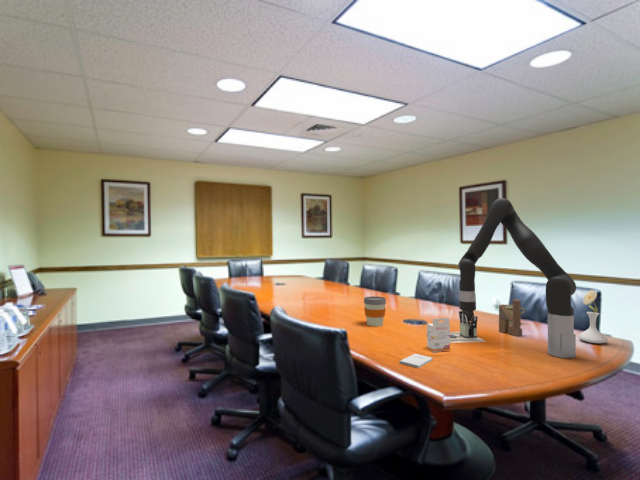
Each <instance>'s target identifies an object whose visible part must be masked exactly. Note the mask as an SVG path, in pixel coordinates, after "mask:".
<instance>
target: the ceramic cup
mask: <svg viewBox="0 0 640 480" xmlns="http://www.w3.org/2000/svg"><path fill="white" fill-rule="evenodd" d="M503 305H504V306H505V307H506V308H507V310H508V311H509V312H510V314H511V315H512V316H513V304H503ZM521 309H522V312H521V315H522V314H524V312H525V308H523V307H521ZM512 322H513V321H510V320H509V326H512Z"/></svg>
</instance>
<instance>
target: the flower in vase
mask: <svg viewBox="0 0 640 480" xmlns="http://www.w3.org/2000/svg"><path fill="white" fill-rule="evenodd" d="M597 295H598V293H597V291H596V290H595V289H594V290H589V291H588V292H586V293H585V295H584V296H583V298H582V300H583V301H582V304H584V305H585V306H587V305H588V308H589V309H591V310H592V311H586V315H587V316H588V318H589V327H588V328H587V329H586V330H584V331H582V332H580V333H579V334H578V338H579V340H581V341H583V342H587V343H592V344H606V343H608V341H609V340H608V338H607V336H605V334H603V333H602V332H601V331H599V330H598V328H597V318H598V316H599V315H600V313H599V309H598V307H597V306H596V303H595V300H596V299H597ZM592 303H593V304H594V307H593V306H592Z"/></svg>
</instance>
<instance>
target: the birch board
mask: <svg viewBox="0 0 640 480" xmlns="http://www.w3.org/2000/svg"><path fill="white" fill-rule="evenodd" d="M425 334H426V335H427V332H425ZM450 334H453V335H455V336H457V338H450V344H454V343H456V344H457V343H484V342H487V341H486V340H485V339H483V338H482V337H481V338H480V337H479V336H477V338H464V337H462V336H460V331H450Z"/></svg>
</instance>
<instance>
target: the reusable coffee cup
mask: <svg viewBox="0 0 640 480" xmlns="http://www.w3.org/2000/svg"><path fill="white" fill-rule="evenodd" d="M386 300H387V299H386V297H384V296H366V297H364V298H363V303H364V315H365V317H366V319H365V320H366V325H367V326H370V327H381V326H383V325H384V318H385V314H386V304H387V301H386Z"/></svg>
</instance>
